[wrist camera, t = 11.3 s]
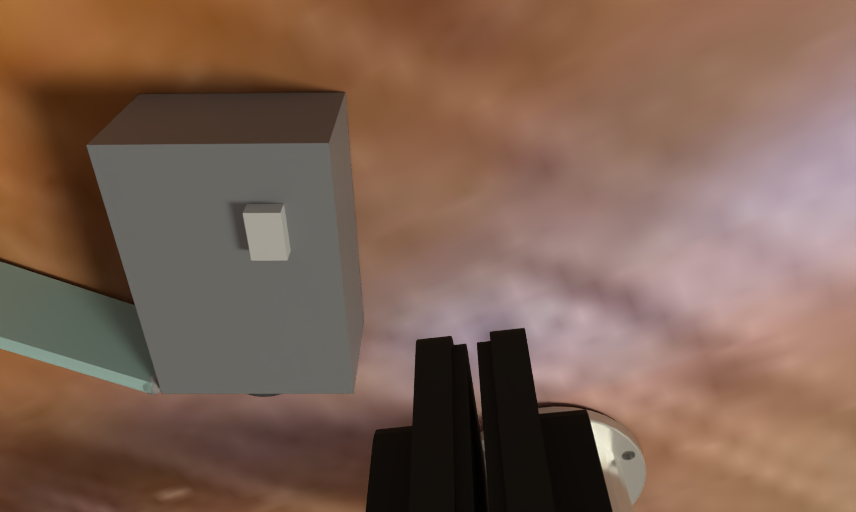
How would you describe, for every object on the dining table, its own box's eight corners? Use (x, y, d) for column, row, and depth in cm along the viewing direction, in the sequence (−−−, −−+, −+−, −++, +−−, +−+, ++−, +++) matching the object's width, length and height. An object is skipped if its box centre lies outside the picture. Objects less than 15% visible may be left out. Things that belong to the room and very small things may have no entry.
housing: (364, 334, 41) (353, 418, 36) (198, 334, 42) (161, 418, 36) (345, 92, 33) (326, 151, 28) (138, 94, 34) (77, 153, 28)
